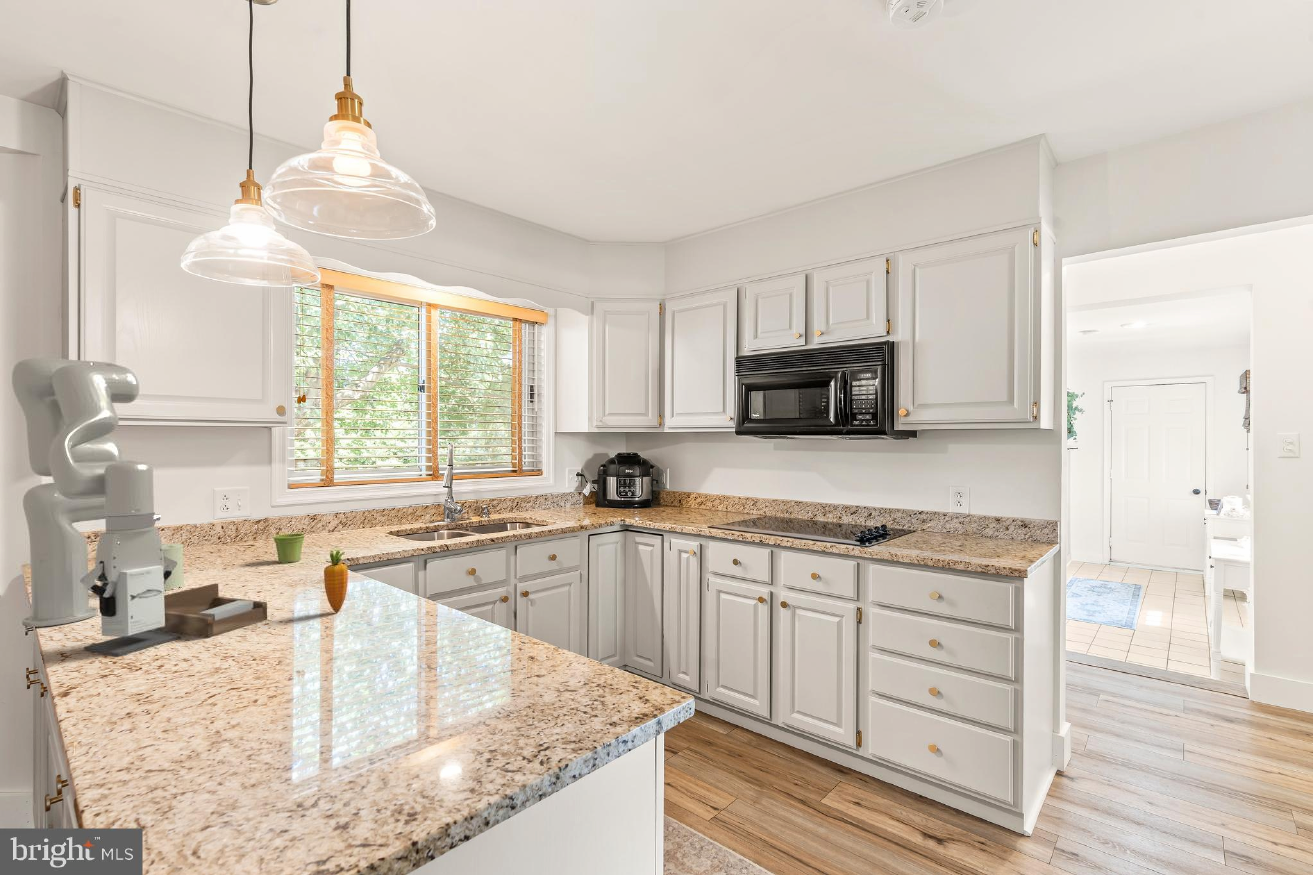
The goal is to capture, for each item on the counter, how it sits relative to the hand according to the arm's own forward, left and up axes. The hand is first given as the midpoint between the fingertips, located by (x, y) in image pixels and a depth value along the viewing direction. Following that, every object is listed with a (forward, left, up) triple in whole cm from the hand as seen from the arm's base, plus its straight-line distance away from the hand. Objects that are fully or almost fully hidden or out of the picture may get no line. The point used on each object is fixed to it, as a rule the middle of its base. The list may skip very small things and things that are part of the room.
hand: (132, 609), depth 126 cm
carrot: (+22, +30, -7) cm, 38 cm away
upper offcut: (+7, +14, -5) cm, 17 cm away
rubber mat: (0, 0, -7) cm, 7 cm away
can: (-45, +33, -7) cm, 56 cm away
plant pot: (-43, +70, -7) cm, 82 cm away
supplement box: (+1, 0, -5) cm, 5 cm away
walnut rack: (+2, +14, -7) cm, 16 cm away
